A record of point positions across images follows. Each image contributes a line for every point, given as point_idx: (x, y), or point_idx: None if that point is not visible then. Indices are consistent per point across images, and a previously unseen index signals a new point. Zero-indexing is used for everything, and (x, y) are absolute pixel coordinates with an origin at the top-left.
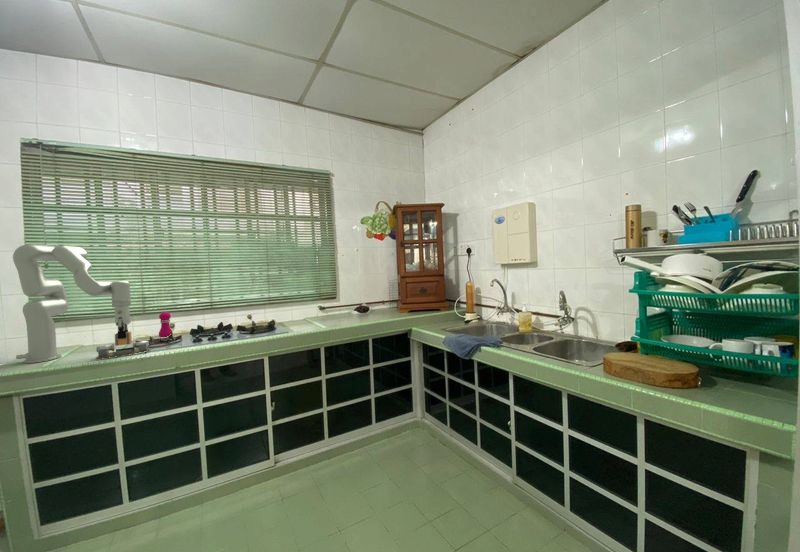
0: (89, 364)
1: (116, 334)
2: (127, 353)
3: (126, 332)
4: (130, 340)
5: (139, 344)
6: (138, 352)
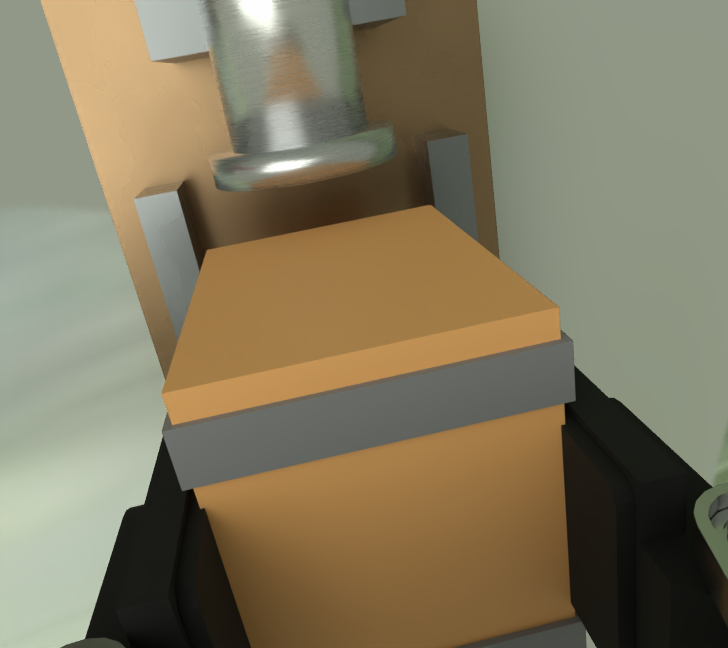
0: (723, 469)
1: (577, 633)
2: (483, 187)
3: (337, 487)
4: (382, 237)
5: (352, 13)
6: (471, 6)
